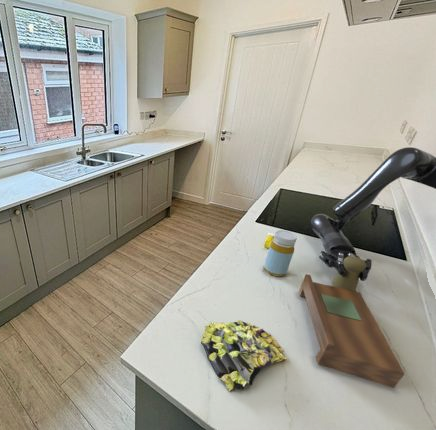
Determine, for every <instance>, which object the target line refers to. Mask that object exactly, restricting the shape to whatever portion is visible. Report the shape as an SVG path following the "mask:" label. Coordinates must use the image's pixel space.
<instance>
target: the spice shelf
mask: <svg viewBox="0 0 436 430" xmlns="http://www.w3.org/2000/svg"><path fill="white" fill-rule="evenodd" d="M298 294H299V297H301V298H305V300H306V305H307V308H308V310H309V315H310V318H311V321H312V325H313V328H314V332H315V336H316V338H317V342H318V345H319V350H318V352H317V354H316V356H315V360H316V362H317V365H319V366H323V367H326V368H329V369H332V370H336V371H339V372H341V373H345V374H348V375H352V376H355V377H358V378H362V379H365V380H368V381H371V382H375V383H377V384H381V385H383V386H387V387H390V388H395V387H396V386H397V385H398V383H399V382H400V380H401V379H402V378H403V377H404V375H405V374H406V373H405V372H404V370H403V367H402V365H401V364H400V362H399V360H398V359H397V357H396V355H395V353H394V352H393V350H392V348H391V346H390V344H389V342H388V341H387V339H386V337H385V335H384V333H383V331H382V330H381V328H380V326H379V324H378V322H377V321H376V319H375V317H374V315H373V313H372V311H371V309H370V308H369V306H368V304H367V303H366V301H365V299H364V297H363V295H362V294H361V292H360V291H357V290H356V291H352V290H347V289H343V288H338V287H333V286H332V285H328V284H324V283H320V282H314V281H313V279H312V275H311V274H308V273H305V275H304V277H303V280H302V282H301V285H300V288H299V291H298Z"/></svg>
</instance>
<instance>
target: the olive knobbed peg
mask: <svg viewBox="0 0 436 430" xmlns="http://www.w3.org/2000/svg"><path fill="white" fill-rule="evenodd" d="M364 260H365V259H363V260H362V258H361V257H360V258H358V257H354V256H348V257H346V258H345V259H344V261H343V264H344V267H345V269H346V270H347V274H346V276H345V277H342V276H341V275H340V274H339V273H338V272H337V274H336V276H335V277H334V278H333V280H332V281H331V286H333V287H338V288H343V289H347V290H352V291H357V287H358V283H359V280H360V278H359V276H360V273H361V271H363V270H364V269H365V268H366V263H365V261H364Z"/></svg>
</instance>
